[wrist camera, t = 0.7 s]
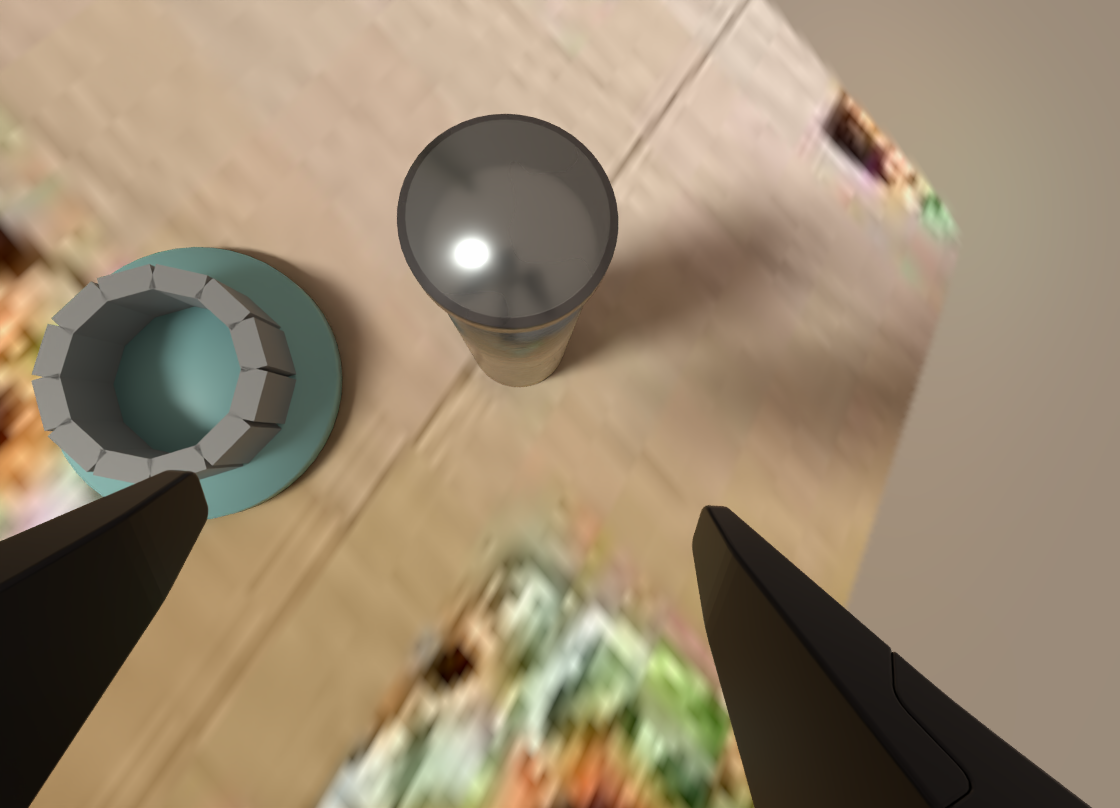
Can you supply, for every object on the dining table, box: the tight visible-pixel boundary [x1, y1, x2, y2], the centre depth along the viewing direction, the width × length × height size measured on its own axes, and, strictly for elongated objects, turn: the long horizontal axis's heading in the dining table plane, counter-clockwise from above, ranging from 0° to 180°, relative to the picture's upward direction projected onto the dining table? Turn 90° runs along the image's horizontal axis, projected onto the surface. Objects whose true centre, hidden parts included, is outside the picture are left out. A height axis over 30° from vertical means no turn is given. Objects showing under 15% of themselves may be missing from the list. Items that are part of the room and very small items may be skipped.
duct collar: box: [32, 247, 342, 519], centre depth 21 cm, size 12×12×3 cm
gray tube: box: [397, 114, 618, 387], centre depth 17 cm, size 5×5×13 cm
